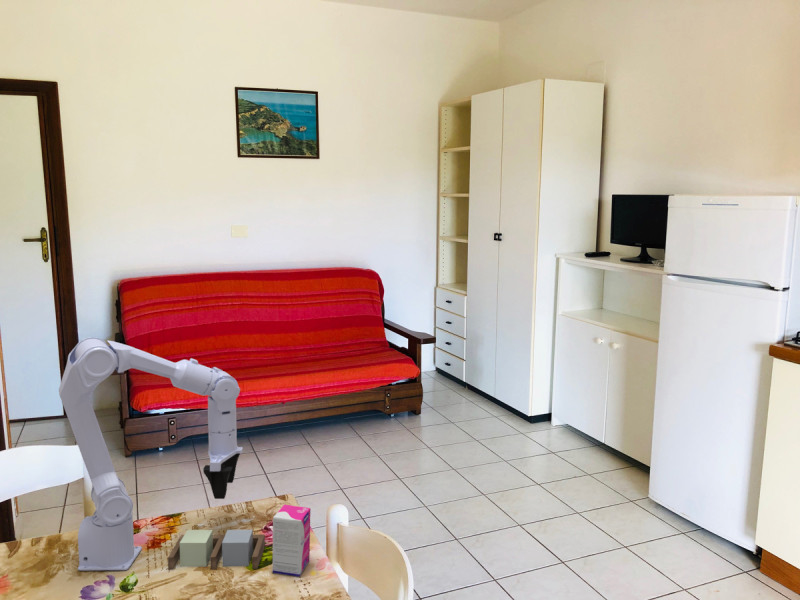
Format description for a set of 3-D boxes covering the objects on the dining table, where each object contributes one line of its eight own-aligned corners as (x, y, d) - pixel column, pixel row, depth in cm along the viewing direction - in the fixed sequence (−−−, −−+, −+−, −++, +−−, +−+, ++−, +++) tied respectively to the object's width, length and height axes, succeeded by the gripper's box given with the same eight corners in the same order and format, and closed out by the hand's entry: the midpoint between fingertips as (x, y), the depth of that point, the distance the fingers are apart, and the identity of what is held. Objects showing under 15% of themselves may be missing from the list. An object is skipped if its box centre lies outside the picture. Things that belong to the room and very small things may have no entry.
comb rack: (168, 569, 123) (167, 557, 123) (181, 546, 132) (181, 534, 131) (257, 568, 124) (257, 556, 124) (264, 545, 133) (264, 534, 132)
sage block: (180, 566, 125) (179, 542, 124) (188, 553, 130) (187, 529, 129) (206, 567, 125) (205, 542, 124) (213, 553, 130) (212, 530, 129)
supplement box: (300, 577, 122) (300, 520, 120) (271, 573, 123) (270, 517, 121) (311, 561, 127) (311, 506, 125) (283, 557, 128) (282, 503, 127)
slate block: (222, 566, 125) (222, 542, 124) (228, 553, 130) (227, 529, 129) (248, 566, 125) (248, 542, 124) (253, 552, 130) (252, 529, 129)
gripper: (234, 441, 128) (235, 505, 130) (248, 417, 142) (249, 475, 144) (198, 441, 127) (200, 505, 129) (216, 417, 142) (217, 475, 144)
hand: (224, 489), depth 137 cm, fingers open, 7 cm apart
